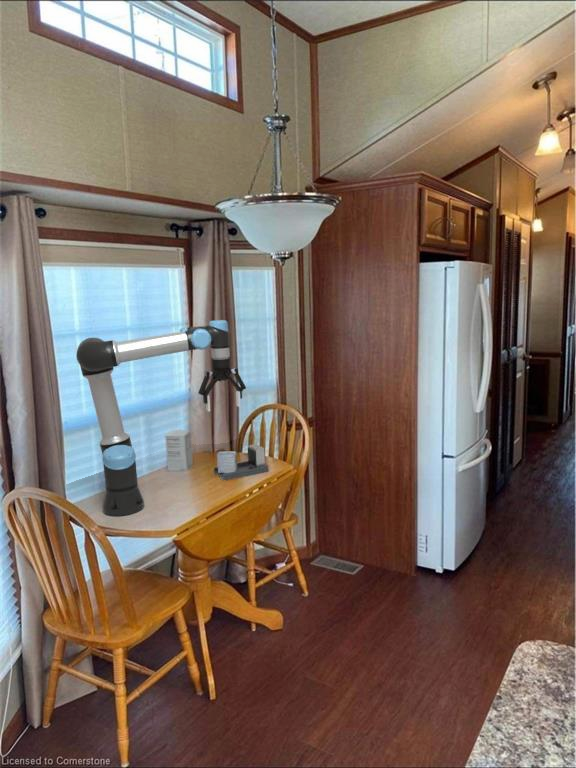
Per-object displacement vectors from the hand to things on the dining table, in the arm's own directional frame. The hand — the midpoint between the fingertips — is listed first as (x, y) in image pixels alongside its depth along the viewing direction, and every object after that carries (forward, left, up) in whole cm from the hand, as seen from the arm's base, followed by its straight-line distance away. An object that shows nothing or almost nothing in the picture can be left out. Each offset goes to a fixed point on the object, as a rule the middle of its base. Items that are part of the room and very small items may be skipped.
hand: (223, 408), depth 236 cm
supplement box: (-11, +30, -32) cm, 45 cm away
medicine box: (+3, +8, -30) cm, 31 cm away
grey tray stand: (+10, +8, -32) cm, 34 cm away
